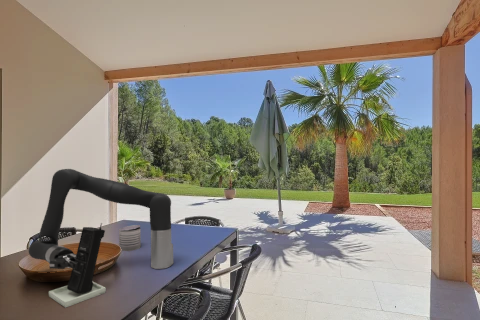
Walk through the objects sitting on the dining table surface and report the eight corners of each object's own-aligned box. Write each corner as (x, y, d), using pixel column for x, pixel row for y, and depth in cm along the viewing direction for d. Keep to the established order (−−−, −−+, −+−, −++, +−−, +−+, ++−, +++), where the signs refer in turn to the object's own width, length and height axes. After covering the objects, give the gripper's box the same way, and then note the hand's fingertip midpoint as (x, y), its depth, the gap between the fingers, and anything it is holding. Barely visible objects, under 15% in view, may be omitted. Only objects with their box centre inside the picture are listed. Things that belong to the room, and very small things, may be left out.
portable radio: (63, 288, 109) (79, 220, 113) (78, 286, 114) (93, 220, 118) (77, 294, 105) (93, 223, 110) (92, 291, 111) (107, 223, 115)
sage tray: (87, 283, 120) (87, 278, 120) (105, 292, 111) (105, 287, 111) (48, 296, 109) (48, 291, 109) (65, 307, 100) (65, 302, 100)
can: (133, 251, 160) (133, 229, 160) (114, 250, 162) (114, 228, 162) (144, 245, 171) (144, 224, 171) (126, 244, 173) (126, 224, 173)
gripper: (39, 251, 114) (58, 260, 103) (77, 243, 124) (97, 250, 114) (39, 270, 114) (58, 281, 103) (77, 260, 125) (97, 270, 114)
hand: (79, 265), depth 108 cm, fingers closed on portable radio
